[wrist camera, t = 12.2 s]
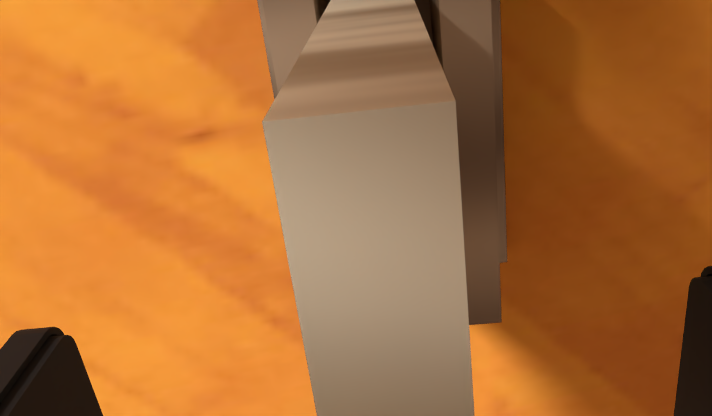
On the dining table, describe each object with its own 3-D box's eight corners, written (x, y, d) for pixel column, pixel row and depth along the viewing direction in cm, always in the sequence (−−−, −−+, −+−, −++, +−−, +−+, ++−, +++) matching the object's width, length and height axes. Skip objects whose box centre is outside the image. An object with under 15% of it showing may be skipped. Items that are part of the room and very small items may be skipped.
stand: (256, -39, 22) (224, -27, 18) (493, -70, 21) (523, -65, 17) (308, 267, 27) (294, 338, 22) (502, 250, 26) (528, 320, 22)
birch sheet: (341, -21, 21) (262, 121, 7) (402, -28, 21) (455, 100, 7) (374, 247, 25) (369, 698, 11) (426, 243, 25) (491, 693, 11)
